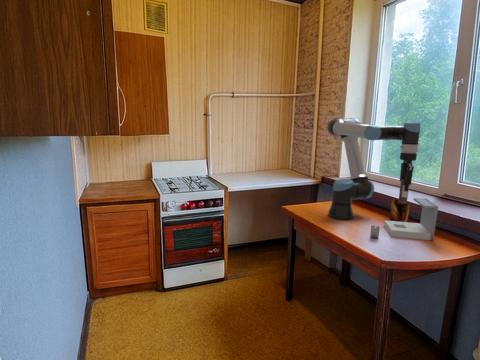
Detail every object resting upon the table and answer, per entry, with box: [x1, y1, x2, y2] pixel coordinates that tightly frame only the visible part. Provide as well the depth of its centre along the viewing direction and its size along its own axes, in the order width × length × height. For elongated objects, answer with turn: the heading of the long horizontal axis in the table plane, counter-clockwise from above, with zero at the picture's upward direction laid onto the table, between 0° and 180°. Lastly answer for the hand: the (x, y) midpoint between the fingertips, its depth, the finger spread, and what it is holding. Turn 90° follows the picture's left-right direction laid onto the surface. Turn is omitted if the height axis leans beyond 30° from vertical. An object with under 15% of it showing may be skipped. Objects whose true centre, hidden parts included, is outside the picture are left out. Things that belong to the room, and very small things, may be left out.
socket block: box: [383, 197, 439, 241], centre depth 161 cm, size 16×20×18 cm
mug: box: [389, 199, 411, 222], centre depth 180 cm, size 10×14×12 cm
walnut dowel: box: [398, 179, 409, 203], centre depth 159 cm, size 4×4×12 cm
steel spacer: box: [369, 225, 380, 240], centre depth 155 cm, size 4×4×6 cm
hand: (403, 195), depth 159 cm, fingers closed on walnut dowel, 4 cm apart
